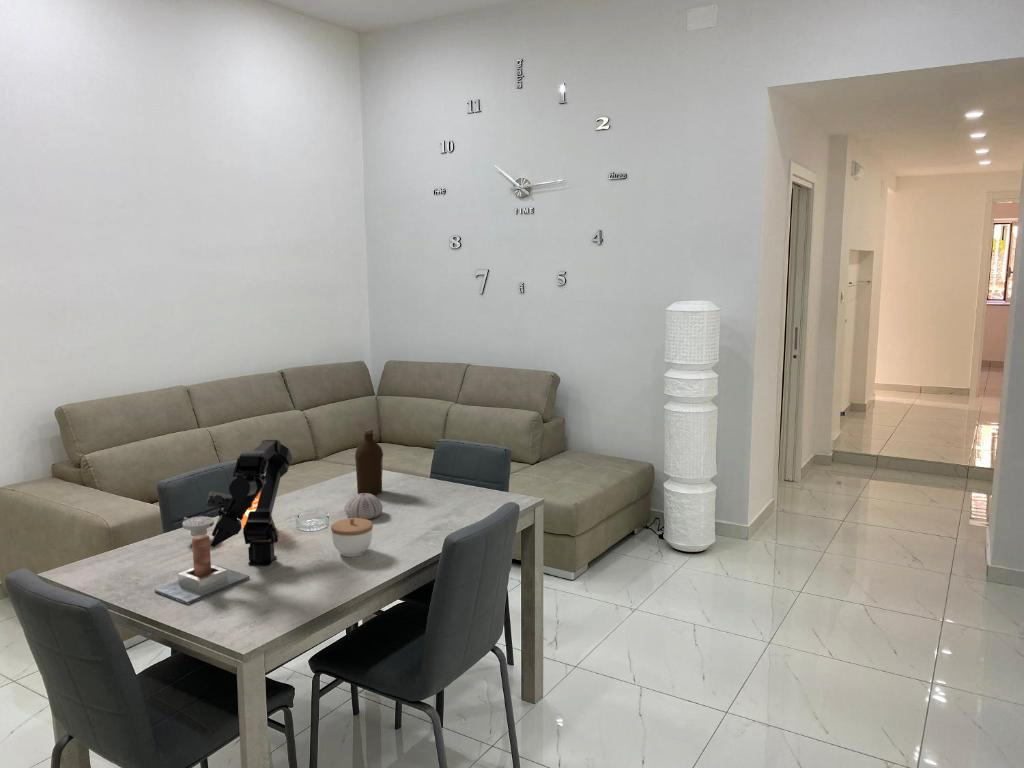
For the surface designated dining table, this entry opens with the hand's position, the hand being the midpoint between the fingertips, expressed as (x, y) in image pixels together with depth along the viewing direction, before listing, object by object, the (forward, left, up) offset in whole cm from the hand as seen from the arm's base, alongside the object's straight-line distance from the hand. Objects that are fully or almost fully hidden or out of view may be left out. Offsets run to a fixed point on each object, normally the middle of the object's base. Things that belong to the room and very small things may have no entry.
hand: (212, 540), depth 217 cm
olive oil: (-26, -83, -11) cm, 87 cm away
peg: (0, +6, -10) cm, 12 cm away
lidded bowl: (-35, -21, -11) cm, 42 cm away
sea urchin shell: (-30, -56, -11) cm, 64 cm away
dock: (0, +6, -11) cm, 12 cm away
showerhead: (+17, -28, -11) cm, 35 cm away
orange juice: (+2, -39, -11) cm, 40 cm away
